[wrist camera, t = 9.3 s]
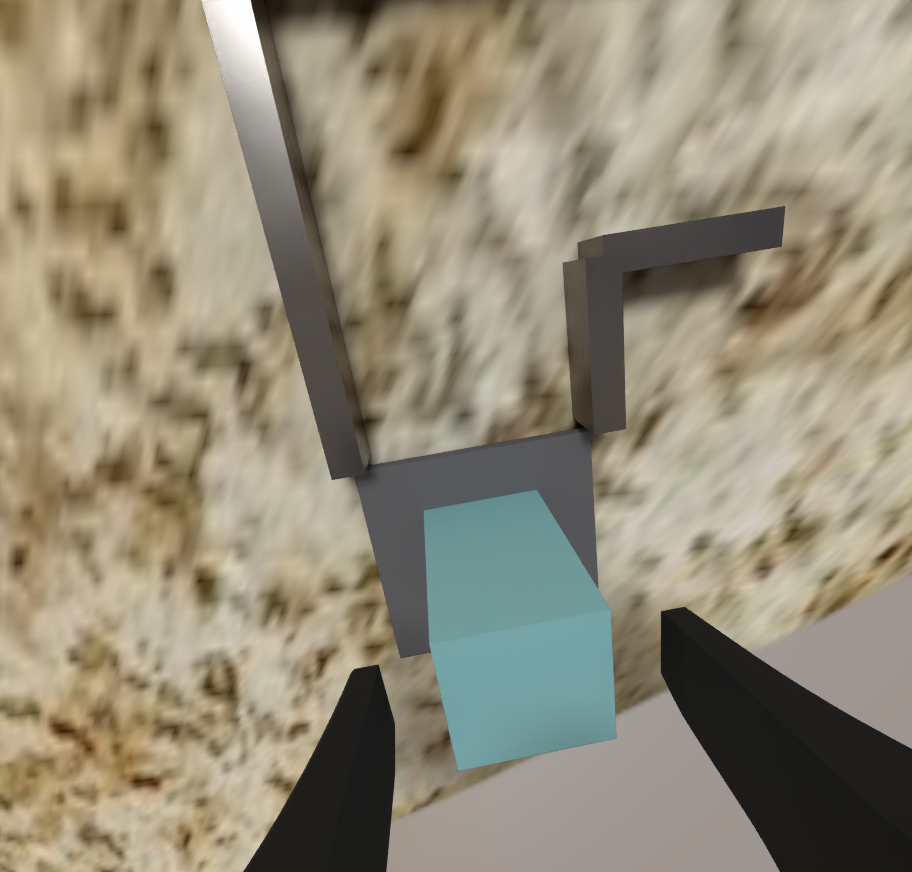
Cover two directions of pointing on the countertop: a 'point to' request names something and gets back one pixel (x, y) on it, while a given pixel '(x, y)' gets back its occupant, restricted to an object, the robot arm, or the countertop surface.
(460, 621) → the teal block
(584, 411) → the rail
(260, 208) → the outer rail
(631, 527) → the countertop surface
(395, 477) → the rubber pad
